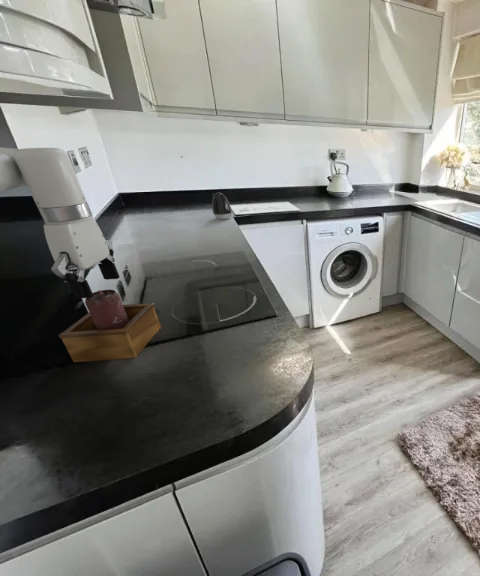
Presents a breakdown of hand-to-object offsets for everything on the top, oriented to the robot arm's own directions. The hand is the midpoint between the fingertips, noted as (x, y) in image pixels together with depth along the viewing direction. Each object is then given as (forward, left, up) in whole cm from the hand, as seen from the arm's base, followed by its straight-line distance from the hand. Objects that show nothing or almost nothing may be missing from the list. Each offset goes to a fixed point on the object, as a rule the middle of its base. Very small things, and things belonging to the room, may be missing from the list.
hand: (99, 287), depth 74 cm
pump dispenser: (-12, +129, -16) cm, 131 cm away
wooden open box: (0, 0, -16) cm, 16 cm away
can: (0, 0, -16) cm, 16 cm away
